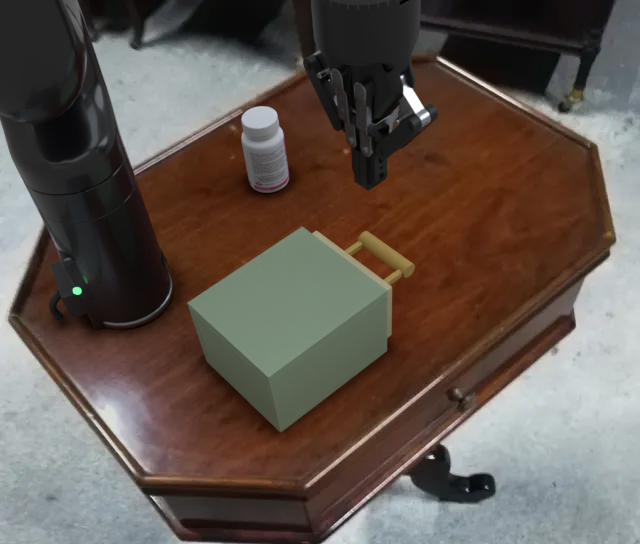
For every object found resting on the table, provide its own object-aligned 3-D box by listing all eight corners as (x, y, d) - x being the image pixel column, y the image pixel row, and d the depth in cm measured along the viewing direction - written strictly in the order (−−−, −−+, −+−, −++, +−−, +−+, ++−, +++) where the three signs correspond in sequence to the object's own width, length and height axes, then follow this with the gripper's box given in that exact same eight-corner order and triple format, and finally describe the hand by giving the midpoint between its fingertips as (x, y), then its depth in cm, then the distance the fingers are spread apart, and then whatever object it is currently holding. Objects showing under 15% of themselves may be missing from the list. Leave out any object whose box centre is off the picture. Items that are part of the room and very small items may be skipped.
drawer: (356, 255, 79) (354, 204, 73) (427, 307, 74) (431, 258, 68) (226, 346, 73) (213, 299, 68) (294, 409, 69) (286, 364, 63)
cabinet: (309, 288, 78) (302, 225, 71) (387, 351, 73) (387, 290, 65) (206, 361, 74) (186, 302, 66) (280, 433, 68) (268, 377, 61)
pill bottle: (298, 179, 87) (290, 115, 80) (267, 200, 86) (256, 136, 79) (271, 161, 89) (262, 98, 82) (241, 181, 88) (228, 118, 81)
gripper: (258, -41, 51) (287, 168, 66) (394, 30, 45) (392, 243, 60) (339, -82, 53) (349, 129, 68) (478, -20, 47) (457, 197, 62)
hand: (369, 182), depth 64 cm, fingers closed
